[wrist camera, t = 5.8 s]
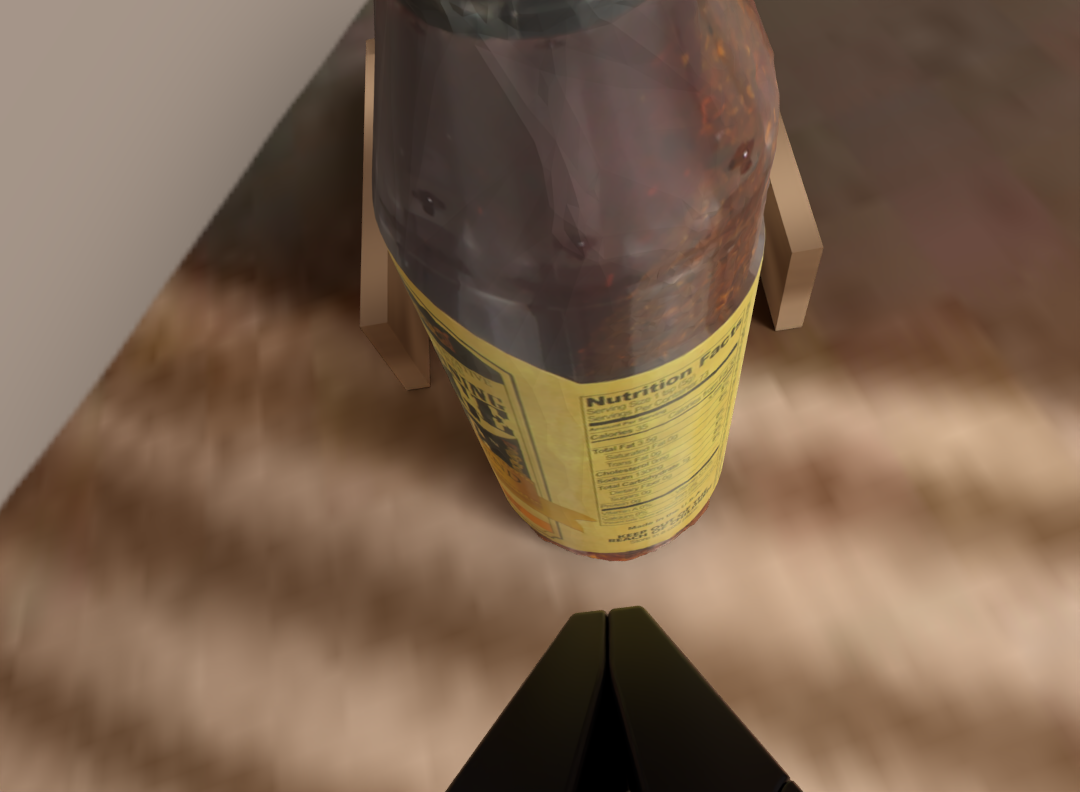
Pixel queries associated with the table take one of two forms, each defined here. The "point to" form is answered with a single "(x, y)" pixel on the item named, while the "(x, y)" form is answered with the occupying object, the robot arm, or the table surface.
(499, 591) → the table surface
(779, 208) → the crate
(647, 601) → the table surface
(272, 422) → the table surface
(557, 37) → the sauce bottle
